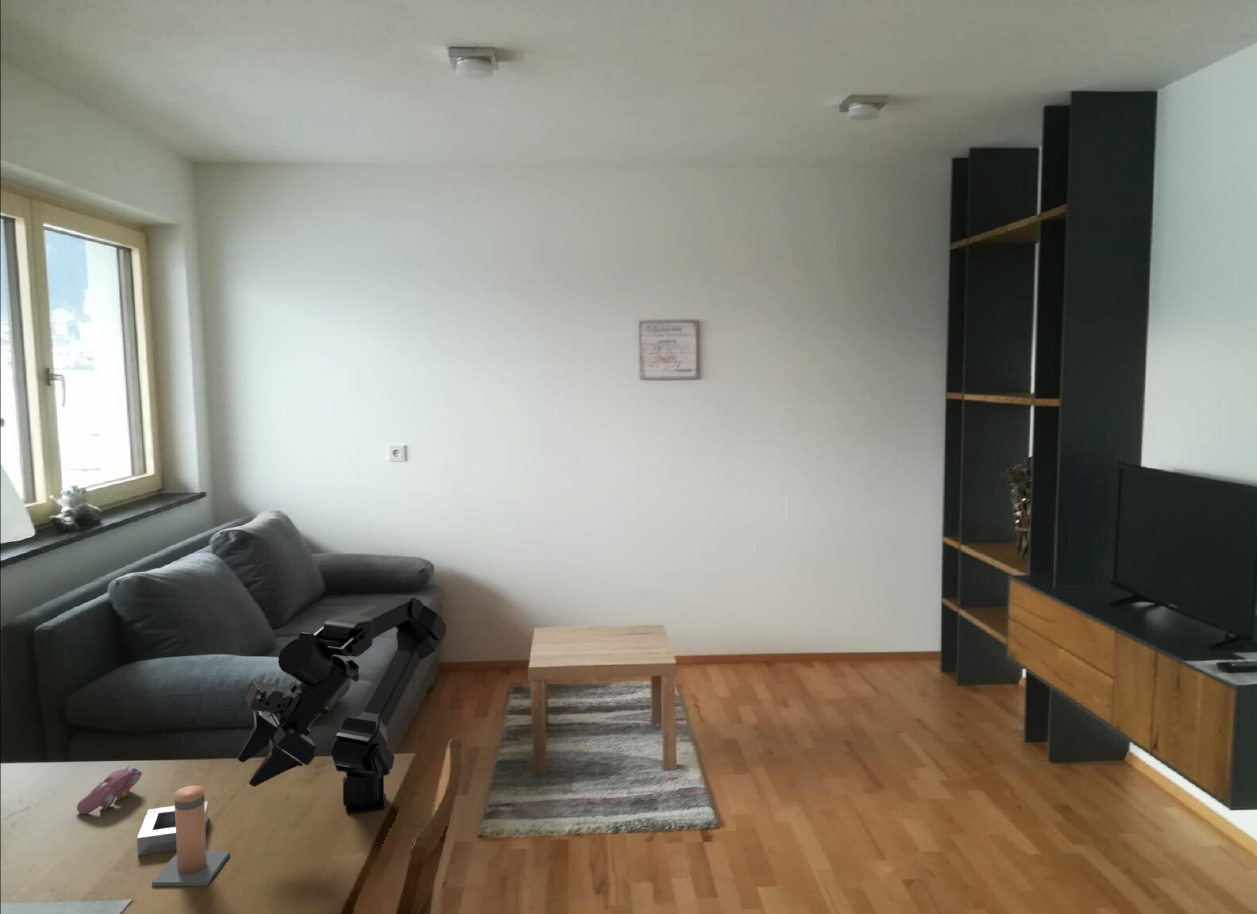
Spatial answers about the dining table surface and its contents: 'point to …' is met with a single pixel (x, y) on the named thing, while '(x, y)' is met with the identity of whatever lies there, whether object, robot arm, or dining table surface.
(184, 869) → the pin
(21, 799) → the dining table surface
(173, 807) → the eye block
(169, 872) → the mat
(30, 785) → the dining table surface
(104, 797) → the video game controller
